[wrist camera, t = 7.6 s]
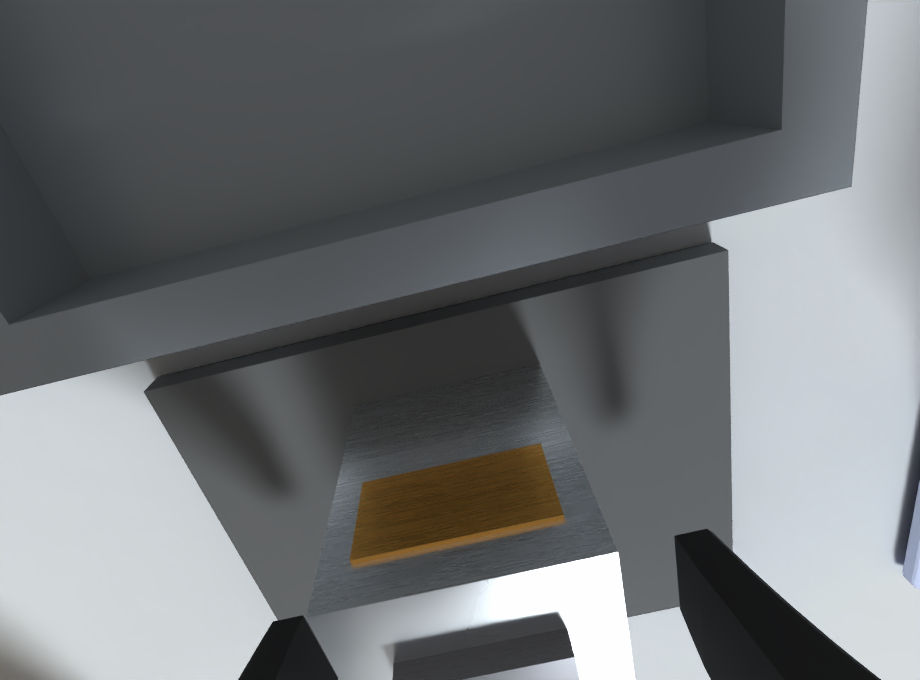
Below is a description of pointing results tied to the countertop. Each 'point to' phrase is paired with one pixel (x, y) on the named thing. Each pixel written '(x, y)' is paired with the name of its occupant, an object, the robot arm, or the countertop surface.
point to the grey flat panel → (469, 356)
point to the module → (468, 543)
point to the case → (377, 151)
